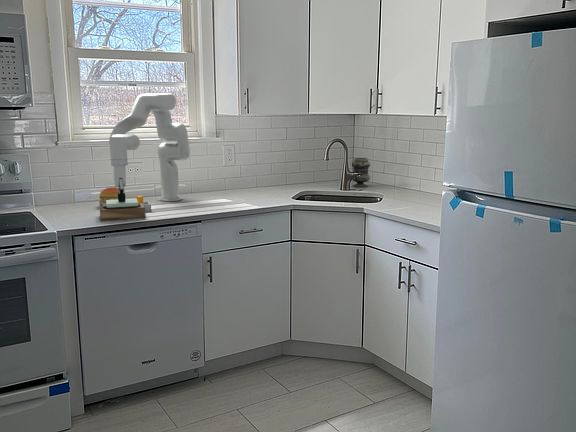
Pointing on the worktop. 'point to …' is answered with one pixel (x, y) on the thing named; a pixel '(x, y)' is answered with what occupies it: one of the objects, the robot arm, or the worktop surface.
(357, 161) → the apothecary jar
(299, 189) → the worktop surface
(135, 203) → the mint green slab
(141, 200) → the pipe clamp
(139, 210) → the wooden box
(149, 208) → the clamp corral
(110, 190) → the burger
